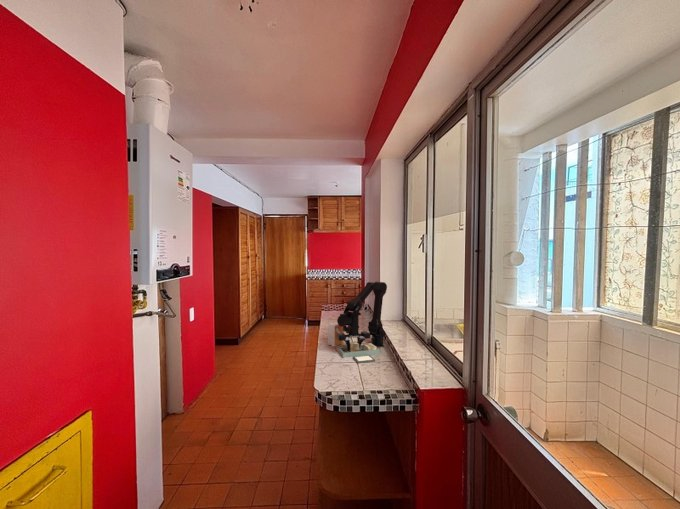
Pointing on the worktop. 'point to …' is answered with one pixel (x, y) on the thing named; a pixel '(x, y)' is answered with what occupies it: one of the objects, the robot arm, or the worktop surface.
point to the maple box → (368, 347)
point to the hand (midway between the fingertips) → (353, 350)
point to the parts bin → (357, 353)
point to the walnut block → (354, 346)
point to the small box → (334, 334)
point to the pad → (363, 359)
